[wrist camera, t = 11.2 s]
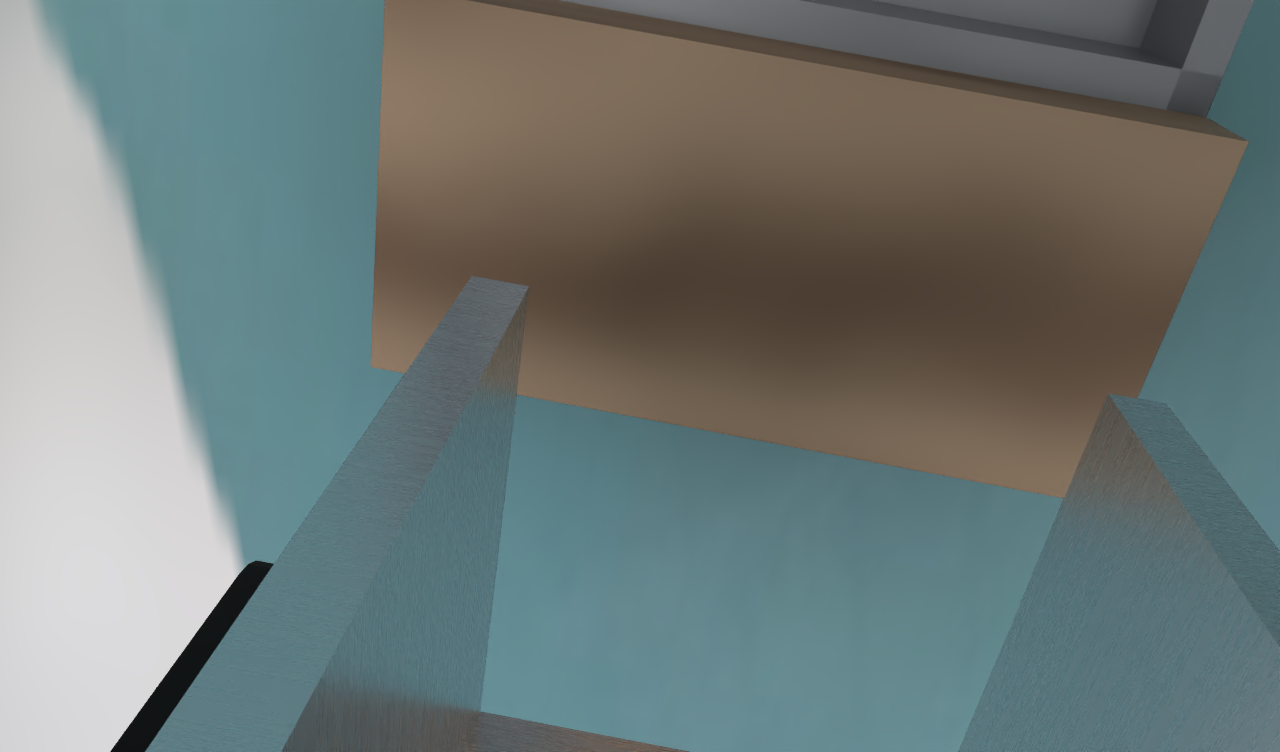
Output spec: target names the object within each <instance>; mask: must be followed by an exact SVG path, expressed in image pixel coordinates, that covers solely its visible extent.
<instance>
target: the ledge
mask: <svg viewBox="0 0 1280 752" xmlns="http://www.w3.org/2000/svg"><path fill="white" fill-rule="evenodd" d="M1248 143H1249V142H1248V141H1247V140H1245V139H1243V138H1241V137H1240V136H1238V135H1236V134H1235V133H1233V132H1231V131H1229V130H1228V129H1226V128H1224V127H1222V126H1221V125H1219V124H1217V123H1215V122H1214V121H1212V120H1210V119H1208V118H1207V117H1202V116H1196V115H1191V114H1185V113H1180V112H1174V111H1169V110H1163V109H1158V108H1152V107H1147V106H1141V105H1136V104H1130V103H1124V102H1119V101H1113V100H1108V99H1102V98H1097V97H1091V96H1086V95H1080V94H1075V93H1069V92H1063V91H1058V90H1052V89H1047V88H1041V87H1036V86H1030V85H1025V84H1019V83H1014V82H1008V81H1003V80H997V79H991V78H986V77H980V76H975V75H969V74H964V73H958V72H953V71H947V70H942V69H936V68H931V67H925V66H919V65H914V64H908V63H903V62H897V61H892V60H886V59H881V58H875V57H870V56H864V55H859V54H853V53H847V52H842V51H836V50H831V49H825V48H820V47H814V46H809V45H803V44H798V43H792V42H786V41H781V40H775V39H770V38H764V37H759V36H753V35H748V34H742V33H737V32H731V31H726V30H720V29H714V28H709V27H703V26H698V25H692V24H687V23H681V22H676V21H670V20H665V19H659V18H654V17H648V16H642V15H637V14H631V13H626V12H620V11H615V10H609V9H604V8H598V7H593V6H587V5H582V4H576V3H570V2H565V1H559V0H385V8H384V34H383V60H382V86H381V112H380V138H379V164H378V190H377V216H376V242H375V268H374V294H373V320H372V346H371V367H374V368H380V369H385V370H390V371H396V372H401V373H406V371H407V370H408V368H409V367H410V365H411V364H412V362H413V361H414V359H415V358H416V357H417V355H418V354H419V352H420V351H421V349H422V348H423V346H424V345H425V343H426V342H427V340H428V339H429V338H430V336H431V335H432V333H433V332H434V330H435V329H436V327H437V326H438V324H439V323H440V322H441V320H442V319H443V317H444V316H445V314H446V313H447V311H448V310H449V308H450V307H451V306H452V304H453V303H454V301H455V300H456V298H457V297H458V295H459V294H460V292H461V291H462V290H463V288H464V287H465V285H466V284H467V282H468V281H469V279H470V278H471V276H476V277H481V278H487V279H492V280H498V281H503V282H509V283H514V284H519V285H525V286H529V292H528V301H527V310H526V318H525V327H524V336H523V344H522V353H521V362H520V370H519V379H518V388H517V395H522V396H527V397H533V398H538V399H543V400H548V401H554V402H559V403H564V404H570V405H575V406H580V407H585V408H591V409H596V410H601V411H606V412H612V413H617V414H622V415H628V416H633V417H638V418H643V419H649V420H654V421H659V422H664V423H670V424H675V425H680V426H686V427H691V428H696V429H701V430H707V431H712V432H717V433H722V434H728V435H733V436H738V437H744V438H749V439H754V440H759V441H765V442H770V443H775V444H780V445H786V446H791V447H796V448H802V449H807V450H812V451H817V452H823V453H828V454H833V455H838V456H844V457H849V458H854V459H860V460H865V461H870V462H875V463H881V464H886V465H891V466H896V467H902V468H907V469H912V470H918V471H923V472H928V473H933V474H939V475H944V476H949V477H954V478H960V479H965V480H970V481H976V482H981V483H986V484H991V485H997V486H1002V487H1007V488H1012V489H1018V490H1023V491H1028V492H1034V493H1039V494H1044V495H1049V496H1055V497H1060V498H1064V497H1065V495H1066V492H1067V490H1068V488H1069V485H1070V483H1071V481H1072V478H1073V476H1074V473H1075V471H1076V469H1077V466H1078V464H1079V461H1080V459H1081V457H1082V454H1083V452H1084V449H1085V447H1086V445H1087V442H1088V440H1089V437H1090V435H1091V433H1092V430H1093V428H1094V425H1095V423H1096V421H1097V418H1098V416H1099V413H1100V411H1101V409H1102V406H1103V404H1104V401H1105V399H1106V397H1107V394H1108V393H1110V394H1115V395H1121V396H1126V397H1131V398H1137V397H1138V395H1139V393H1140V390H1141V388H1142V386H1143V383H1144V381H1145V379H1146V377H1147V374H1148V372H1149V370H1150V367H1151V365H1152V363H1153V361H1154V358H1155V356H1156V354H1157V351H1158V349H1159V347H1160V344H1161V342H1162V340H1163V338H1164V335H1165V333H1166V331H1167V328H1168V326H1169V324H1170V322H1171V319H1172V317H1173V315H1174V312H1175V310H1176V308H1177V305H1178V303H1179V301H1180V299H1181V296H1182V294H1183V292H1184V289H1185V287H1186V285H1187V283H1188V280H1189V278H1190V276H1191V273H1192V271H1193V269H1194V267H1195V264H1196V262H1197V260H1198V257H1199V255H1200V253H1201V250H1202V248H1203V246H1204V244H1205V241H1206V239H1207V237H1208V234H1209V232H1210V230H1211V228H1212V225H1213V223H1214V221H1215V218H1216V216H1217V214H1218V211H1219V209H1220V207H1221V205H1222V202H1223V200H1224V198H1225V195H1226V193H1227V191H1228V189H1229V186H1230V184H1231V182H1232V179H1233V177H1234V175H1235V173H1236V170H1237V168H1238V166H1239V163H1240V161H1241V159H1242V156H1243V154H1244V152H1245V150H1246V147H1247V145H1248Z"/></svg>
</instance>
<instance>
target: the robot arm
mask: <svg viewBox="0 0 1280 752" xmlns="http://www.w3.org/2000/svg"><path fill="white" fill-rule="evenodd" d="M273 565H274V564H272V563H266V562H261V561H254V562H252V563H250V564H248V565H247V566H246V567H245V568H244V569H243V570H242V572H241V573H240V574H239V575H238V576H237V578H236V579H235V580H234V582H233V583H232V585H231V586H230V587H229V589H228V590H227V592H226V593H225V594H224V596H223V597H222V598H221V600H220V601H219V603H218V604H217V606H216V607H215V608H214V609H213V611H212V612H211V614H210V615H209V616H208V618H207V619H206V620H205V622H204V623H203V625H202V626H201V627H200V629H199V630H198V631H197V633H196V634H195V636H194V637H193V638H192V640H191V641H190V643H189V644H188V645H187V647H186V648H185V650H184V651H183V652H182V654H181V655H180V656H179V658H178V659H177V660H176V662H175V663H174V665H173V666H172V667H171V669H170V670H169V672H168V673H167V674H166V676H165V677H164V678H163V680H162V681H161V682H160V684H159V685H158V687H157V688H156V689H155V691H154V692H153V694H152V695H151V696H150V698H149V699H148V701H147V702H146V703H145V705H144V706H143V707H142V709H141V710H140V711H139V713H138V714H137V716H136V717H135V718H134V720H133V721H132V723H131V724H130V725H129V727H128V728H127V729H126V731H125V732H124V734H123V735H122V736H121V738H120V739H119V740H118V742H117V743H116V745H115V746H114V747H113V749H112V750H111V752H145V751H146V750H147V748H148V747H149V745H150V744H151V743H152V741H153V740H154V738H155V737H156V735H157V734H158V732H159V731H160V729H161V728H162V727H163V725H164V724H165V722H166V721H167V719H168V718H169V716H170V715H171V713H172V712H173V710H174V709H175V708H176V706H177V705H178V703H179V702H180V700H181V699H182V697H183V696H184V694H185V693H186V692H187V690H188V689H189V687H190V686H191V684H192V683H193V681H194V680H195V678H196V677H197V676H198V674H199V673H200V671H201V670H202V668H203V667H204V665H205V664H206V662H207V661H208V659H209V658H210V657H211V655H212V654H213V652H214V651H215V649H216V648H217V646H218V645H219V643H220V642H221V641H222V639H223V638H224V636H225V635H226V633H227V632H228V630H229V629H230V627H231V626H232V625H233V623H234V622H235V620H236V619H237V617H238V616H239V614H240V613H241V611H242V610H243V609H244V607H245V606H246V604H247V603H248V601H249V600H250V598H251V597H252V595H253V594H254V592H255V591H256V590H257V588H258V587H259V585H260V584H261V582H262V581H263V579H264V578H265V576H266V575H267V574H268V572H269V571H270V569H271V568H272V566H273Z"/></svg>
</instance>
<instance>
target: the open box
mask: <svg viewBox="0 0 1280 752" xmlns="http://www.w3.org/2000/svg"><path fill="white" fill-rule="evenodd" d="M528 292H529V286H525V285H519V284H514V283H509V282H503V281H498V280H492V279H487V278H481V277H476V276H471V278H470V279H469V281H468V282H467V284H466V285H465V287H464V288H463V290H462V291H461V292H460V294H459V295H458V297H457V298H456V300H455V301H454V303H453V304H452V306H451V307H450V308H449V310H448V311H447V313H446V314H445V316H444V317H443V319H442V320H441V322H440V323H439V324H438V326H437V327H436V329H435V330H434V332H433V333H432V335H431V336H430V338H429V339H428V340H427V342H426V343H425V345H424V346H423V348H422V349H421V351H420V352H419V354H418V355H417V357H416V358H415V359H414V361H413V362H412V364H411V365H410V367H409V368H408V370H407V371H406V373H405V374H404V375H403V377H402V378H401V380H400V381H399V383H398V384H397V386H396V387H395V389H394V390H393V391H392V393H391V394H390V396H389V397H388V399H387V400H386V402H385V403H384V405H383V406H382V408H381V409H380V410H379V412H378V413H377V415H376V416H375V418H374V419H373V421H372V422H371V424H370V425H369V426H368V428H367V429H366V431H365V432H364V434H363V435H362V437H361V438H360V440H359V441H358V442H357V444H356V445H355V447H354V448H353V450H352V451H351V453H350V454H349V456H348V457H347V458H346V460H345V461H344V463H343V464H342V466H341V467H340V469H339V470H338V472H337V473H336V475H335V476H334V477H333V479H332V480H331V482H330V483H329V485H328V486H327V488H326V489H325V491H324V492H323V493H322V495H321V496H320V498H319V499H318V501H317V502H316V504H315V505H314V507H313V508H312V509H311V511H310V512H309V514H308V515H307V517H306V518H305V520H304V521H303V523H302V524H301V525H300V527H299V528H298V530H297V531H296V533H295V534H294V536H293V537H292V539H291V540H290V542H289V543H288V544H287V546H286V547H285V549H284V550H283V552H282V553H281V555H280V556H279V558H278V559H277V560H276V562H275V563H274V565H273V566H272V568H271V569H270V571H269V572H268V574H267V575H266V576H265V578H264V579H263V581H262V582H261V584H260V585H259V587H258V588H257V590H256V591H255V592H254V594H253V595H252V597H251V598H250V600H249V601H248V603H247V604H246V606H245V607H244V609H243V610H242V611H241V613H240V614H239V616H238V617H237V619H236V620H235V622H234V623H233V625H232V626H231V627H230V629H229V630H228V632H227V633H226V635H225V636H224V638H223V639H222V641H221V642H220V643H219V645H218V646H217V648H216V649H215V651H214V652H213V654H212V655H211V657H210V658H209V659H208V661H207V662H206V664H205V665H204V667H203V668H202V670H201V671H200V673H199V674H198V676H197V677H196V678H195V680H194V681H193V683H192V684H191V686H190V687H189V689H188V690H187V692H186V693H185V694H184V696H183V697H182V699H181V700H180V702H179V703H178V705H177V706H176V708H175V709H174V710H173V712H172V713H171V715H170V716H169V718H168V719H167V721H166V722H165V724H164V725H163V727H162V728H161V729H160V731H159V732H158V734H157V735H156V737H155V738H154V740H153V741H152V743H151V744H150V745H149V747H148V748H147V750H146V751H145V752H688V751H683V750H678V749H672V748H667V747H662V746H657V745H652V744H646V743H641V742H636V741H631V740H625V739H620V738H615V737H610V736H605V735H599V734H594V733H589V732H584V731H579V730H573V729H568V728H563V727H558V726H553V725H547V724H542V723H537V722H532V721H527V720H521V719H516V718H511V717H506V716H501V715H495V714H490V713H485V712H480V709H481V700H482V691H483V683H484V674H485V665H486V657H487V648H488V639H489V631H490V622H491V613H492V605H493V596H494V587H495V579H496V570H497V561H498V553H499V544H500V535H501V527H502V518H503V509H504V501H505V492H506V483H507V474H508V466H509V457H510V448H511V440H512V431H513V422H514V414H515V405H516V396H517V388H518V379H519V370H520V362H521V353H522V344H523V336H524V327H525V318H526V310H527V301H528ZM958 752H1280V551H1279V549H1278V548H1277V547H1276V546H1275V544H1274V543H1273V542H1272V540H1271V539H1270V538H1269V536H1268V535H1267V534H1266V533H1265V531H1264V530H1263V529H1262V527H1261V526H1260V525H1259V524H1258V522H1257V521H1256V520H1255V518H1254V517H1253V516H1252V514H1251V513H1250V512H1249V511H1248V509H1247V508H1246V507H1245V505H1244V504H1243V503H1242V501H1241V500H1240V499H1239V498H1238V496H1237V495H1236V494H1235V492H1234V491H1233V490H1232V488H1231V487H1230V486H1229V485H1228V483H1227V482H1226V481H1225V479H1224V478H1223V477H1222V475H1221V474H1220V473H1219V472H1218V470H1217V469H1216V468H1215V466H1214V465H1213V464H1212V462H1211V461H1210V460H1209V459H1208V457H1207V456H1206V455H1205V453H1204V452H1203V451H1202V449H1201V448H1200V447H1199V446H1198V444H1197V443H1196V442H1195V440H1194V439H1193V438H1192V436H1191V435H1190V434H1189V433H1188V431H1187V430H1186V429H1185V427H1184V426H1183V425H1182V424H1181V422H1180V421H1179V420H1178V418H1177V417H1176V416H1175V414H1174V413H1173V412H1172V411H1171V409H1170V408H1169V407H1168V405H1167V404H1164V403H1158V402H1153V401H1148V400H1142V399H1137V398H1131V397H1126V396H1121V395H1115V394H1110V393H1108V394H1107V397H1106V399H1105V401H1104V404H1103V406H1102V409H1101V411H1100V413H1099V416H1098V418H1097V421H1096V423H1095V425H1094V428H1093V430H1092V433H1091V435H1090V437H1089V440H1088V442H1087V445H1086V447H1085V449H1084V452H1083V454H1082V457H1081V459H1080V461H1079V464H1078V466H1077V469H1076V471H1075V473H1074V476H1073V478H1072V481H1071V483H1070V485H1069V488H1068V490H1067V492H1066V495H1065V497H1064V500H1063V502H1062V504H1061V507H1060V509H1059V512H1058V514H1057V516H1056V519H1055V521H1054V524H1053V526H1052V528H1051V531H1050V533H1049V536H1048V538H1047V540H1046V543H1045V545H1044V548H1043V550H1042V552H1041V555H1040V557H1039V560H1038V562H1037V564H1036V567H1035V569H1034V572H1033V574H1032V576H1031V579H1030V581H1029V584H1028V586H1027V588H1026V591H1025V593H1024V596H1023V598H1022V600H1021V603H1020V605H1019V607H1018V610H1017V612H1016V615H1015V617H1014V619H1013V622H1012V624H1011V627H1010V629H1009V631H1008V634H1007V636H1006V639H1005V641H1004V643H1003V646H1002V648H1001V651H1000V653H999V655H998V658H997V660H996V663H995V665H994V667H993V670H992V672H991V675H990V677H989V679H988V682H987V684H986V687H985V689H984V691H983V694H982V696H981V699H980V701H979V703H978V706H977V708H976V711H975V713H974V715H973V718H972V720H971V723H970V725H969V727H968V730H967V732H966V734H965V737H964V739H963V742H962V744H961V746H960V749H959V751H958Z"/></svg>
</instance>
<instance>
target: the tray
mask: <svg viewBox="0 0 1280 752" xmlns="http://www.w3.org/2000/svg"><path fill="white" fill-rule="evenodd" d="M559 1H565V2H570V3H576V4H582V5H587V6H593V7H598V8H604V9H609V10H615V11H620V12H626V13H631V14H637V15H642V16H648V17H654V18H659V19H665V20H670V21H676V22H681V23H687V24H692V25H698V26H703V27H709V28H714V29H720V30H726V31H731V32H737V33H742V34H748V35H753V36H759V37H764V38H770V39H775V40H781V41H786V42H792V43H798V44H803V45H809V46H814V47H820V48H825V49H831V50H836V51H842V52H847V53H853V54H859V55H864V56H870V57H875V58H881V59H886V60H892V61H897V62H903V63H908V64H914V65H919V66H925V67H931V68H936V69H942V70H947V71H953V72H958V73H964V74H969V75H975V76H980V77H986V78H991V79H997V80H1003V81H1008V82H1014V83H1019V84H1025V85H1030V86H1036V87H1041V88H1047V89H1052V90H1058V91H1063V92H1069V93H1075V94H1080V95H1086V96H1091V97H1097V98H1102V99H1108V100H1113V101H1119V102H1124V103H1130V104H1136V105H1141V106H1147V107H1152V108H1158V109H1163V110H1169V111H1174V112H1180V113H1185V114H1191V115H1196V116H1202V117H1206V116H1207V114H1208V111H1209V109H1210V107H1211V104H1212V102H1213V99H1214V97H1215V94H1216V92H1217V90H1218V87H1219V85H1220V82H1221V80H1222V77H1223V75H1224V73H1225V70H1226V68H1227V65H1228V63H1229V60H1230V58H1231V56H1232V53H1233V51H1234V48H1235V46H1236V43H1237V41H1238V39H1239V36H1240V34H1241V31H1242V29H1243V26H1244V24H1245V22H1246V19H1247V17H1248V14H1249V12H1250V9H1251V7H1252V5H1253V2H1254V0H559Z"/></svg>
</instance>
